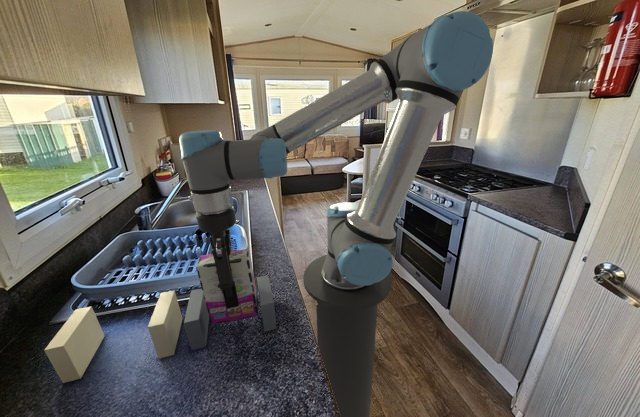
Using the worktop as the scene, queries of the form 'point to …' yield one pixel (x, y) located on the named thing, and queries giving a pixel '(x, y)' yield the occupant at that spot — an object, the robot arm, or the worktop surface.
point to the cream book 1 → (75, 344)
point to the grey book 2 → (266, 303)
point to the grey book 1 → (196, 320)
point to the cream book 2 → (165, 324)
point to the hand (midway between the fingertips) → (232, 297)
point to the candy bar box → (243, 284)
